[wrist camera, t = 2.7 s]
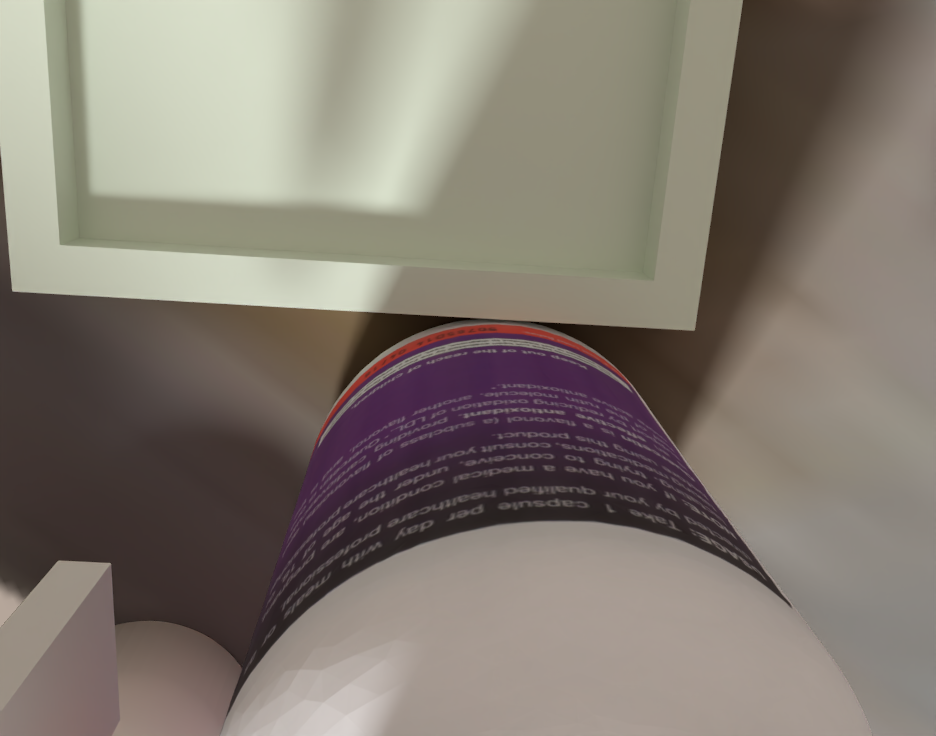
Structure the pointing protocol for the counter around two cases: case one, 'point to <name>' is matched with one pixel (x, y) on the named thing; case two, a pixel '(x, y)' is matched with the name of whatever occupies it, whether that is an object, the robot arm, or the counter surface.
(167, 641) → the white cylinder
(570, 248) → the tray
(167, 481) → the counter surface
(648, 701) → the pill bottle
